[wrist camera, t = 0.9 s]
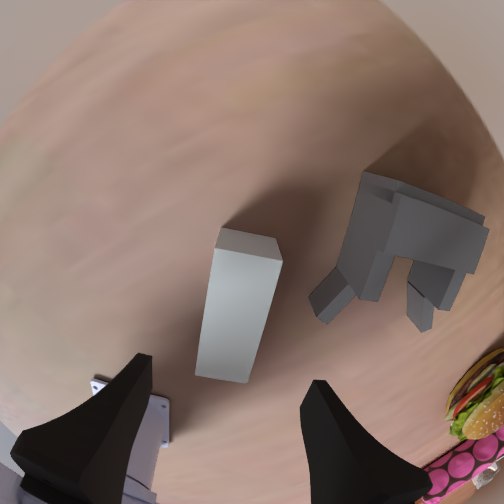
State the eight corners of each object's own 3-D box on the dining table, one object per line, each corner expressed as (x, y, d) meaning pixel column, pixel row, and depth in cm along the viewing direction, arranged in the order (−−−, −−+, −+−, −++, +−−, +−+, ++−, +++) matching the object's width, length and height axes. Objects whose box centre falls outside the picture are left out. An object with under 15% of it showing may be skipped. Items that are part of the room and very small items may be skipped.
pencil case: (499, 404, 30) (523, 440, 20) (500, 418, 32) (520, 449, 23) (404, 473, 35) (419, 513, 25) (417, 478, 37) (430, 512, 28)
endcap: (414, 316, 21) (446, 353, 16) (306, 302, 20) (323, 349, 15) (455, 205, 18) (502, 224, 13) (345, 165, 17) (382, 174, 12)
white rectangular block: (246, 347, 22) (247, 383, 18) (201, 339, 21) (194, 375, 17) (275, 237, 19) (283, 261, 15) (221, 226, 18) (215, 247, 14)
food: (454, 424, 29) (474, 460, 22) (424, 403, 26) (451, 451, 18) (517, 362, 26) (544, 392, 18) (505, 322, 22) (544, 359, 15)
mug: (471, 477, 48) (477, 490, 42) (470, 474, 46) (477, 488, 40) (495, 459, 46) (502, 472, 40) (495, 456, 44) (502, 469, 38)
